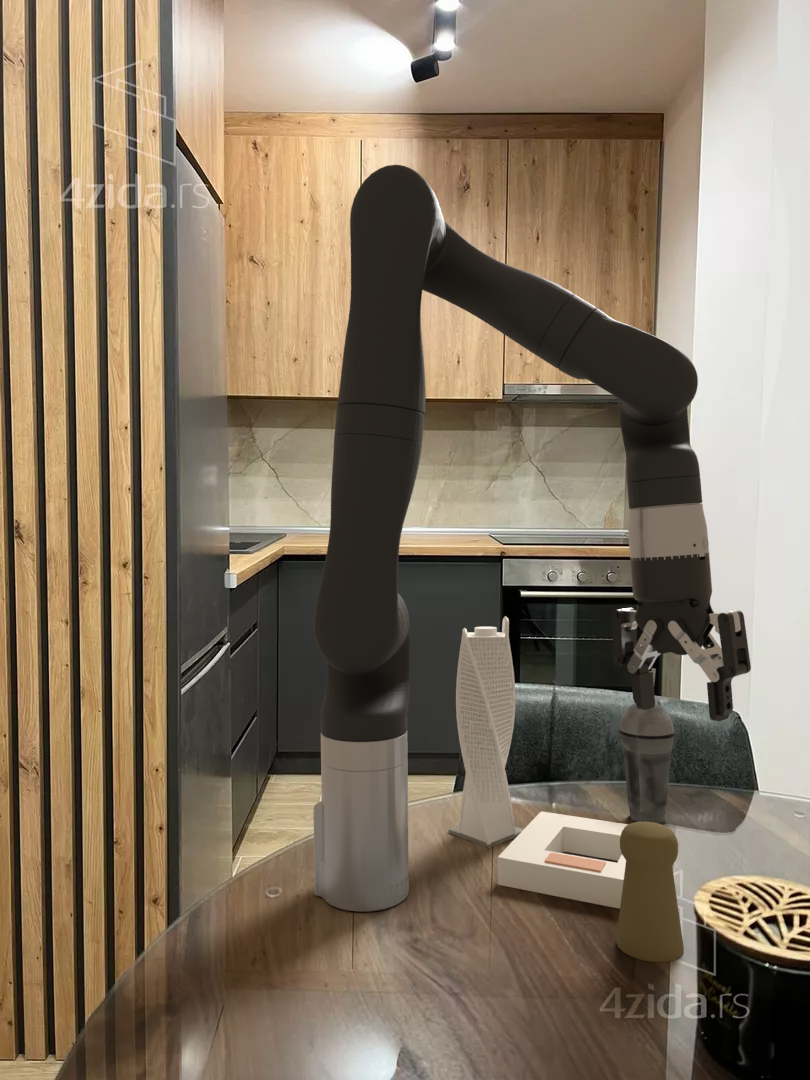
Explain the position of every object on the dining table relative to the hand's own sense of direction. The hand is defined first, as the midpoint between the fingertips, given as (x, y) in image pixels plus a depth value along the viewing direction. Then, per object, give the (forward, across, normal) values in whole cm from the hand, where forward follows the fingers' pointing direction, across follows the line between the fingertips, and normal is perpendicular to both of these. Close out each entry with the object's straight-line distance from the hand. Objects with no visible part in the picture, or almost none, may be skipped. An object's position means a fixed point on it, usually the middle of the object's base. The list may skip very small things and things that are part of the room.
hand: (681, 713), depth 79 cm
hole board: (+19, -14, 0) cm, 24 cm away
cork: (+20, +1, -8) cm, 22 cm away
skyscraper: (+19, -28, -2) cm, 34 cm away
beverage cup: (+20, -20, +19) cm, 34 cm away
